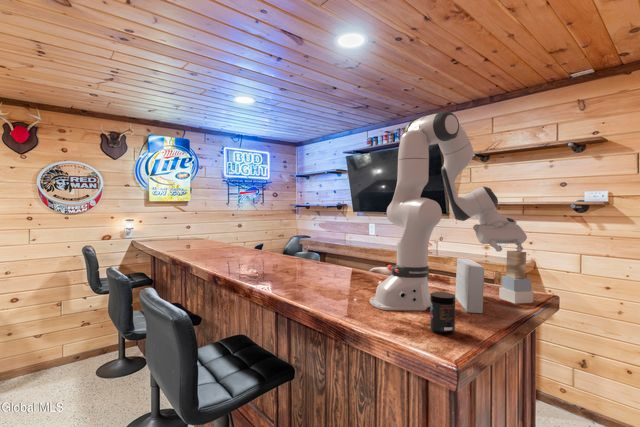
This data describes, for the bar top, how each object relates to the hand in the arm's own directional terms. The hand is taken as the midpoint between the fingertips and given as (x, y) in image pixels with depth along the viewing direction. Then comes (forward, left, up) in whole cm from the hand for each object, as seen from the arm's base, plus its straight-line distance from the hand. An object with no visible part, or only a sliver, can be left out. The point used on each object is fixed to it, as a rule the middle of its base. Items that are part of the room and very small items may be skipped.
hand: (510, 250), depth 132 cm
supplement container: (-46, -29, -19) cm, 57 cm away
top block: (0, -3, -15) cm, 15 cm away
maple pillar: (0, -3, -10) cm, 10 cm away
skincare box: (-22, -6, -19) cm, 30 cm away
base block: (0, -3, -19) cm, 19 cm away
